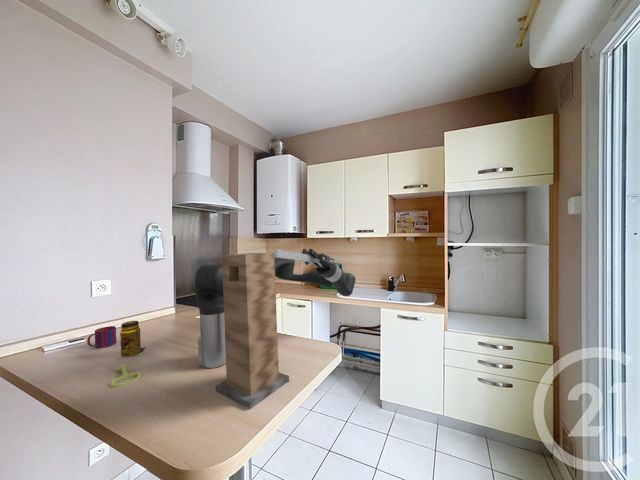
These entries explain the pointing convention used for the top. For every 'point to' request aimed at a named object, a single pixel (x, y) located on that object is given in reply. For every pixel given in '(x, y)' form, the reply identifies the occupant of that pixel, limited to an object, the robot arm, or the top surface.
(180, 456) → the top surface
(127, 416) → the top surface
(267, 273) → the post
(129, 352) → the condiment
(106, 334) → the mug
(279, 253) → the pin
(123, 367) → the yellow-green flat looped piece
